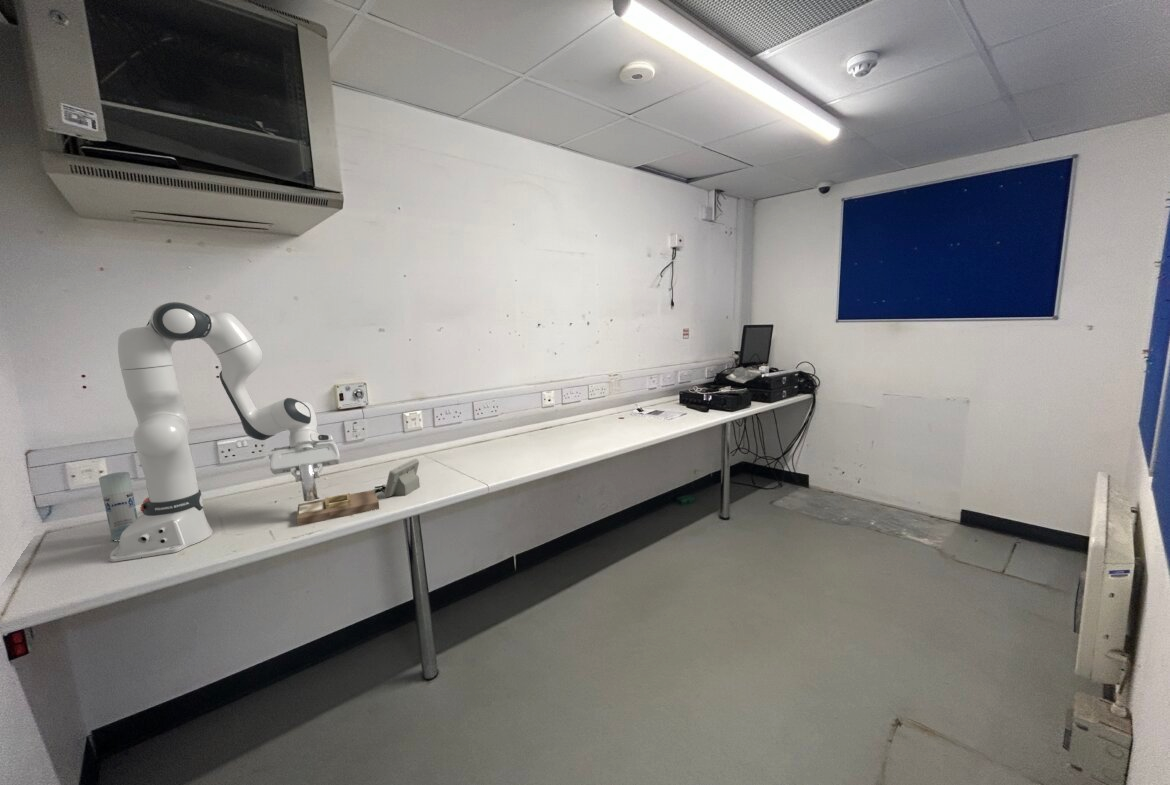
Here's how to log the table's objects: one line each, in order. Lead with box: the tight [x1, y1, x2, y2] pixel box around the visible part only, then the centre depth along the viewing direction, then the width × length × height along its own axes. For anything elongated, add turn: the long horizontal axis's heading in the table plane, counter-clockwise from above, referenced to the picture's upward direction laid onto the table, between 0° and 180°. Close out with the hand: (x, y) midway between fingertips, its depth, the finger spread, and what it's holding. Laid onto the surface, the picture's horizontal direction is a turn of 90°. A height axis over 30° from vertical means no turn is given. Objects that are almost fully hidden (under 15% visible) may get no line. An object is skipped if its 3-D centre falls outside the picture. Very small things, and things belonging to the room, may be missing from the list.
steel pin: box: [299, 463, 319, 502], centre depth 151 cm, size 4×4×12 cm
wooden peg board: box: [296, 489, 380, 527], centre depth 156 cm, size 24×14×4 cm, turn 120°
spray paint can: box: [98, 471, 139, 541], centre depth 139 cm, size 6×6×20 cm
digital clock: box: [384, 458, 420, 498], centre depth 172 cm, size 16×9×11 cm, turn 154°
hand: (307, 479), depth 150 cm, fingers closed on steel pin, 4 cm apart
